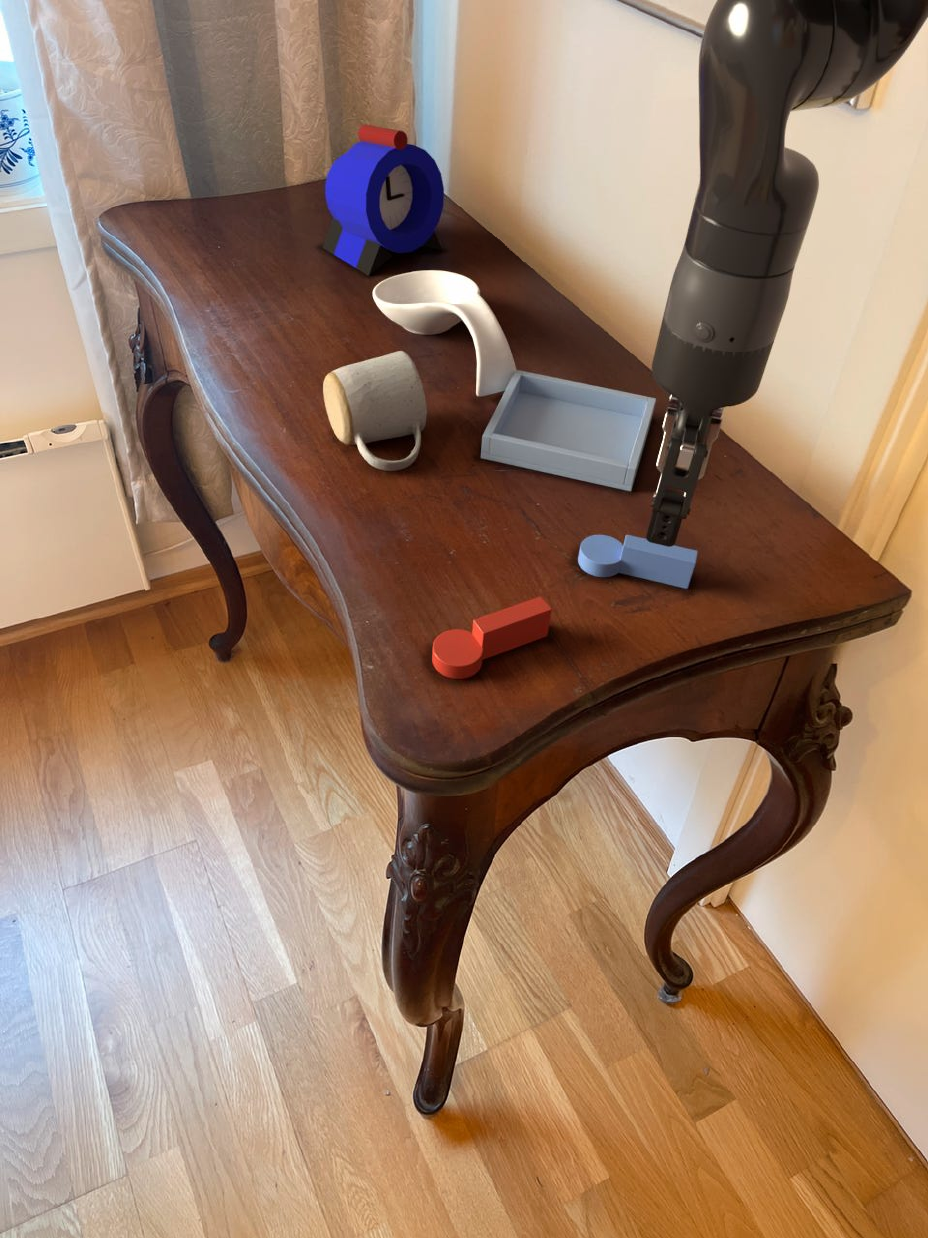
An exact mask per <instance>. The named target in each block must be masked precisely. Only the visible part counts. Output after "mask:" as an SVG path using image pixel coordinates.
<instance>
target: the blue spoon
mask: <svg viewBox="0 0 928 1238" xmlns="http://www.w3.org/2000/svg"><path fill="white" fill-rule="evenodd" d="M698 553H699V550H696V549H691V548H687V547H683V546H678V545H675V544H674V545H673V546H671V547H667V546H663V545H659V544H655V543H651V542H649V541H647V539H646V538H644V537H639V536H635V535H631V534H626V535H625V538H624V542H623V543H622V542H621V541H620V540H619V539H617V538H615V537H612V536H610V535H607V534H606V535H605V534H593V535H589V536H587V537H585V538H584V539H583V540H582V541H581V542H580V547H579V551H578V556H577V563H578V565H579V567H580V568H581V570H582V571H584V572H585V573H587V574H588V575H590V576H593V577H597V578H610V577H613V576H615V575H617V574H622V575H626V576H631V577H635V578H639V579H644V580H646V581H647V580H648V581H650V582H651V581H652V582H656V583H660V584H663V585H669V586H673V587H676V588H681V589H685V590H688V589H689V586H690V584H691V581H692V580H691V579H692V576H693V573H694V571H695V567H696V565H697V559H698V555H699V554H698Z"/></svg>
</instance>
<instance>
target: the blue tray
mask: <svg viewBox="0 0 928 1238" xmlns="http://www.w3.org/2000/svg"><path fill="white" fill-rule="evenodd" d="M656 403H657V398H656V397H651V396H646V395H643V394H642V395H641V394H636V393H632V392H626V391H622V390H617V389H613V388H607V387H602V386H597V385H594V384H593V385H592V384H588V383H583V382H578V381H573V380H568V379H564V378H560V377H559V378H558V377H554V376H548V375H544V374H539V373H534V372H529V371H525V370H519V369H516V371H515V373H514V375H513V377H512V379H511V380H510V382H509V384H508V386H507V388H506V390H505V391H503V394H502V397H501V398H500V400H499V402H498V405H497V406H496V408H495V409H494V412H493V414H492V416H491V417H490V420H489V422H488V424H487V426H486V428H485V430H484V432H483V434H482V437H481V447H480V448H481V450H480V459H483V460H488V461H492V462H497V463H500V464H505V465H510V466H515V467H519V468H524V469H528V470H533V471H538V472H542V473H545V474H551V475H554V476H559V477H564V478H569V479H573V480H578V481H582V482H587V483H591V484H594V485H595V484H596V485H599V486H603V487H609V488H614V489H618V490H621V491H627V492H632V491H633V488H634V487H633V486H634V483H635V480H636V476H637V473H638V469H639V466H640V462H641V458H642V455H643V452H644V448H645V445H646V441H647V437H648V433H649V431H650V426H651V424H652V419H653V414H654V412H655V407H656Z"/></svg>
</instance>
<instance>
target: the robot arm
mask: <svg viewBox="0 0 928 1238" xmlns="http://www.w3.org/2000/svg"><path fill="white" fill-rule="evenodd" d="M707 18H708V19H707V21H706V23H705V27H704V30H703V34H702V37H701V41H700V48H699V55H698V71H697V72H698V75H697V77H698V78H697V79H698V81H697V82H698V122H699V123H698V151H699V152H698V154H699V182H698V187H697V190H696V193H695V198H694V202H693V207H692V211H691V215H690V218H689V219H690V220H689V224H688V227H687V232H686V235H685V240H684V245H683V247H682V251H681V253H680V256H679V259H678V261H677V263H676V266H675V269H674V271H673V275H672V278H671V281H670V286H669V291H668V295H667V298H666V303H665V308H664V312H663V316H662V320H661V324H660V329H659V332H658V337H657V342H656V346H655V349H654V354H653V358H652V363H651V372H652V376H653V379H654V380H655V382H656V384H657V385H658V386H659V387H660V388H661V389H662V390H663V391H664V392H666V393H667V394H668V395H670V396H669V400H668V405H667V408H666V413H665V415H664V419H663V424H662V431H663V438H662V442H661V444H660V445H661V446H660V449H659V453H658V456H657V460H656V465H655V466H656V470H657V471H658V472H659V473H660V478H659V481H658V485H657V489H656V491H654V493H653V495H652V501H651V505H650V507H651V509H652V510H651V516H650V521H649V524H648V527H647V531H646V535H645V539H647V541H649V542H651V543H655V544H659V545H663V546H667V547H671V546H673V545H674V546H675V544H676V542H677V539H678V535H679V531H680V528H681V526H682V522H683V520H685V521H686V520H687V517H688V516H690V513H691V510H692V508H691V505H692V501H693V496H694V493H695V490H696V487H697V484H698V481H699V480H701V479H703V477H704V476H705V473H706V468H707V465H708V462H709V457H710V454H711V450H712V447H713V443H714V442H716V441H717V439H718V437H719V434H720V430H721V426H722V424H723V418H722V416H723V414H724V413H723V412H724V409H725V408H728V407H735V406H739V405H741V404H743V403H745V402H747V401H749V400H750V399H752V398H753V397H754V396H755V395H756V393H757V392H758V390H759V388H760V386H761V382H762V380H763V376H764V373H765V370H766V367H767V364H768V361H769V358H770V355H771V353H772V349H773V346H774V343H775V340H776V338H777V333H778V331H779V328H780V324H781V322H782V318H783V317H784V313H785V311H786V307H787V305H788V304H787V303H788V300H789V296H790V291H791V286H792V281H793V275H794V271H795V267H796V264H797V261H798V258H799V255H800V252H801V249H802V246H803V243H804V239H805V237H806V234H807V231H808V228H809V225H810V222H811V218H812V215H813V212H814V209H815V205H816V201H817V197H818V193H819V188H820V178H819V177H820V176H819V172H818V170H817V168H816V166H815V164H814V163H813V161H812V160H810V159H809V158H808V157H807V156H806V155H804V154H802V153H800V152H799V151H796V150H794V149H792V148H789V147H786V145H785V144H786V142H785V141H786V130H787V129H786V128H787V124H788V120H789V117H790V114H791V113H792V112H799V111H805V110H812V109H821V108H827V107H829V108H830V107H834V106H838V105H841V104H843V103H846V102H848V101H851V100H853V99H855V98H856V97H859V96H860V95H861V94H863V93H864V92H866V91H867V90H869V89H870V88H871V87H872V86H874V85H875V84H876V83H877V82H879V81H880V80H881V79H882V78H883V77H884V76H885V75H886V74H888V73H889V72H890V70H891V69H892V68H893V67H895V65H896V64H897V63H898V62H899V61H900V59H902V57H903V56H904V55H905V53H906V52H907V50H908V49H909V48H910V46H911V44H912V43H913V41H914V40H915V38H916V36H917V35H919V32H920V30H921V29H922V28H923V26H924V24H925V23H926V21H927V20H928V0H716V1H715V3H714V6H713V7H712V10H711V11H710V13H709V16H708V17H707ZM669 489H670V490H669ZM674 490H675V491H674ZM679 491H680V492H679ZM682 492H684V493H682Z"/></svg>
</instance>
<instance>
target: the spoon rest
mask: <svg viewBox="0 0 928 1238" xmlns="http://www.w3.org/2000/svg"><path fill="white" fill-rule="evenodd" d="M372 298H373V300H374V303H375V304H376V306H377V308H378V309H379V310H380V311H381V313H382V314H383V315H385V317H386V318H388V319H389V320H391V321H392V322H393V323H394V324H397V325H398V326H400V327H402V328H403V329H404V330H406V331H408V332H410V333H413V334H416V335H422V336H423V335H424V336H429V335H438V334H442V333H444V332H447V331H448V330H450V329H451V328H452V327H454V326H456V325H457V324H459V323H460V322H463V323H464V324H465V326H466V328H467V329H468V331H469V333H470V335H471V337H472V340H473V344H474V349H475V354H476V355H475V356H476V385H475V386H476V388H475V389H476V390H475V395H476V396H477V397H479V398H480V397H485V396H489V395H494V394H498V393H503V392H505V390H506V388H507V386H508V384H509V382H510V380H511V379H512V377H513V375H514V373H515V371H516V370H517V367H516V363H515V360H514V357H513V353H512V351H511V348H510V344H509V342H508V340H507V337H506V335H505V333H504V331H503V329H502V327H501V325H500V323H499V321H498V318H497V317H496V315H495V314H494V311H493V310H492V309H491V307H490V305H489V304H488V303H487V302H486V300H485V299H484V298H483V296H481V290H480V287H479V286H478V284H477V282H475V281H474V280H472V279H471V278H470V277H467V276H466V275H463V274H460V273H456V272H453V271H452V272H451V271H446V270H440V269H439V270H438V269H436V270H435V269H430V270H416V271H411V272H405V273H401V274H397V275H393V276H390V277H388V278H386V279H383V280H382V281H380V282H378V284H376V285H375V286H374V288H373V290H372Z"/></svg>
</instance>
